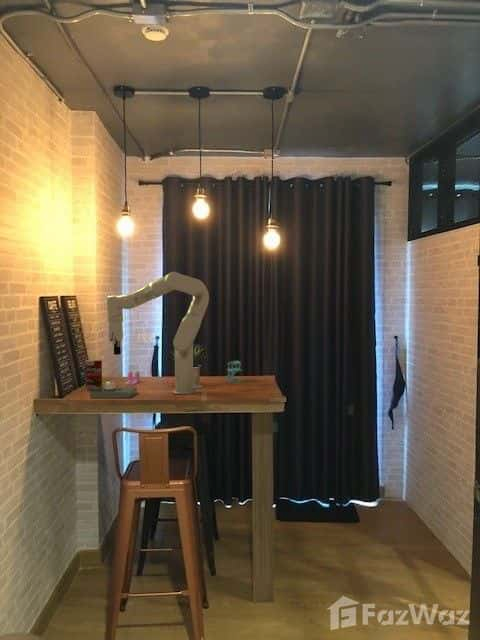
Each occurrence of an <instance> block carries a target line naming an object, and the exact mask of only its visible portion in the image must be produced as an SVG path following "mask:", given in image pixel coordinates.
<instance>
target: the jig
mask: <svg viewBox="0 0 480 640" xmlns="http://www.w3.org/2000/svg"><path fill="white" fill-rule="evenodd" d="M137 393H138V387H137V386H115V390H113V391H105V386H102V387H99V388H97V389H93V390H91V391H89V399H130V398H132V397H133V396H135V395H136V394H137Z"/></svg>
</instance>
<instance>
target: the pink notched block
mask: <svg viewBox="0 0 480 640" xmlns="http://www.w3.org/2000/svg"><path fill="white" fill-rule="evenodd" d="M127 374H128V375H127V376H128V380H127V381H126V382H124V387H134V386H135V385H136V384H139V383H140V371H139V370H135V373H134V376H135V379H133V371H132V370H128V373H127Z"/></svg>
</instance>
